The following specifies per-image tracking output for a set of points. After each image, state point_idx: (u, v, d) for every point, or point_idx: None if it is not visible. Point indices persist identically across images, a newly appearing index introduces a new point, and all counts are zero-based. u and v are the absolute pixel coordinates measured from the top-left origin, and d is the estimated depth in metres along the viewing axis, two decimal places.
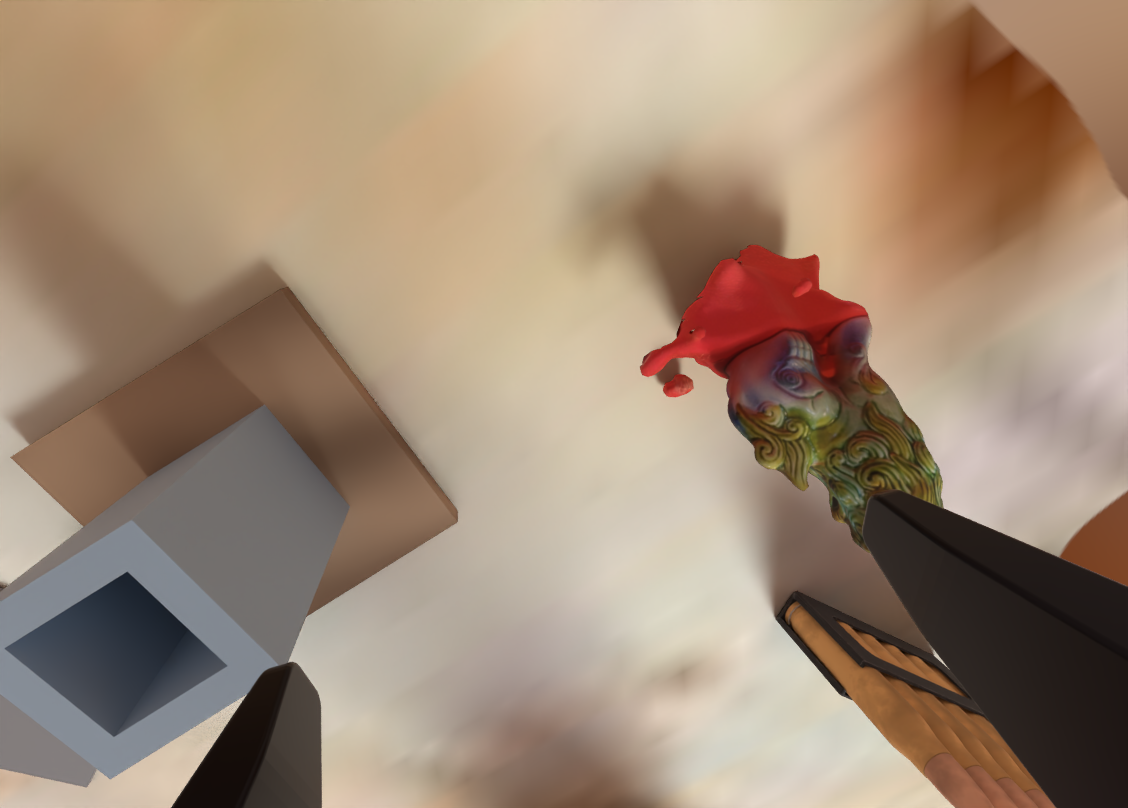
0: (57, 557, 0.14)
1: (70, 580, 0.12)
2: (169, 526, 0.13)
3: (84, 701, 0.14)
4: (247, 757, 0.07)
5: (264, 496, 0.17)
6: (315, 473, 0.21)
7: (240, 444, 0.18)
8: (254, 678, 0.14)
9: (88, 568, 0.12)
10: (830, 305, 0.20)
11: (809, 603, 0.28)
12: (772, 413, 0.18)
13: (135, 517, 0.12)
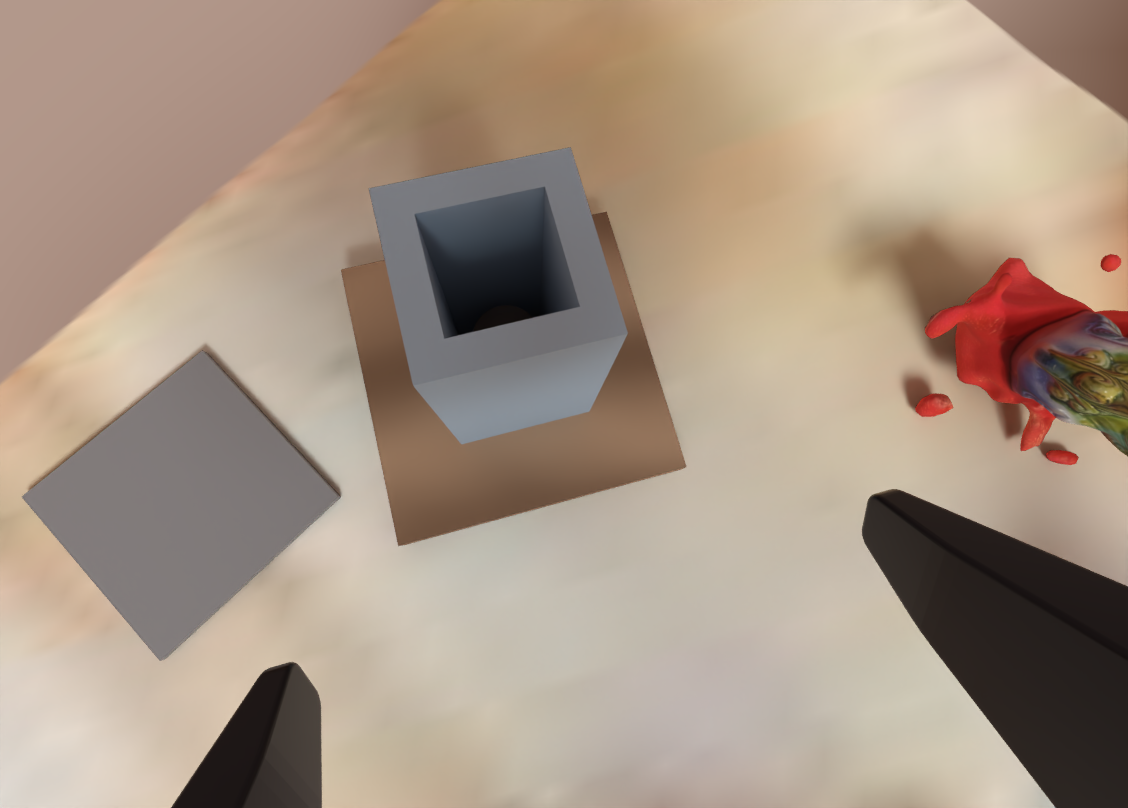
0: None
1: (498, 177, 0.14)
2: None
3: (435, 298, 0.13)
4: (247, 757, 0.07)
5: None
6: None
7: None
8: (597, 330, 0.13)
9: (517, 173, 0.14)
10: (1127, 312, 0.20)
11: None
12: (1095, 356, 0.18)
13: (569, 151, 0.14)
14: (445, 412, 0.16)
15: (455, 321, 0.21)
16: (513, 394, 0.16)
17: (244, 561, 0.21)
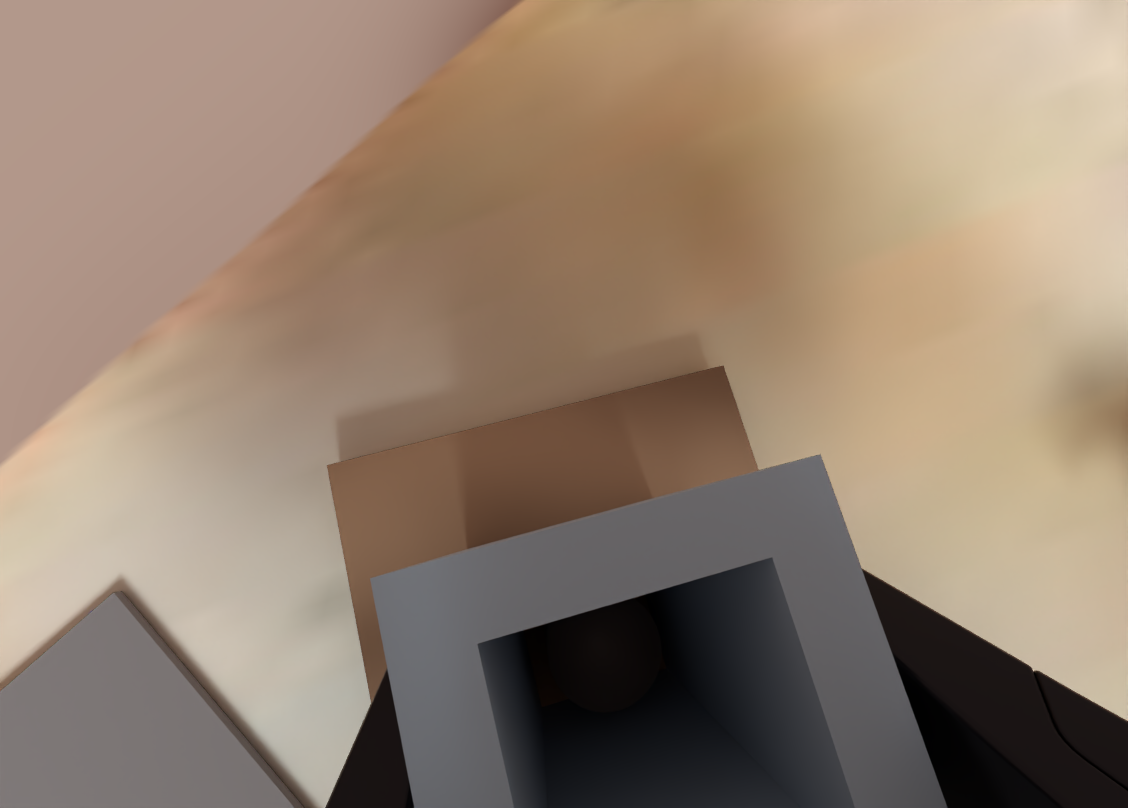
0: (548, 528, 0.08)
1: (666, 537, 0.06)
2: None
3: None
4: None
5: None
6: None
7: None
8: None
9: (708, 524, 0.06)
10: None
11: None
12: None
13: (813, 457, 0.07)
14: None
15: None
16: None
17: None
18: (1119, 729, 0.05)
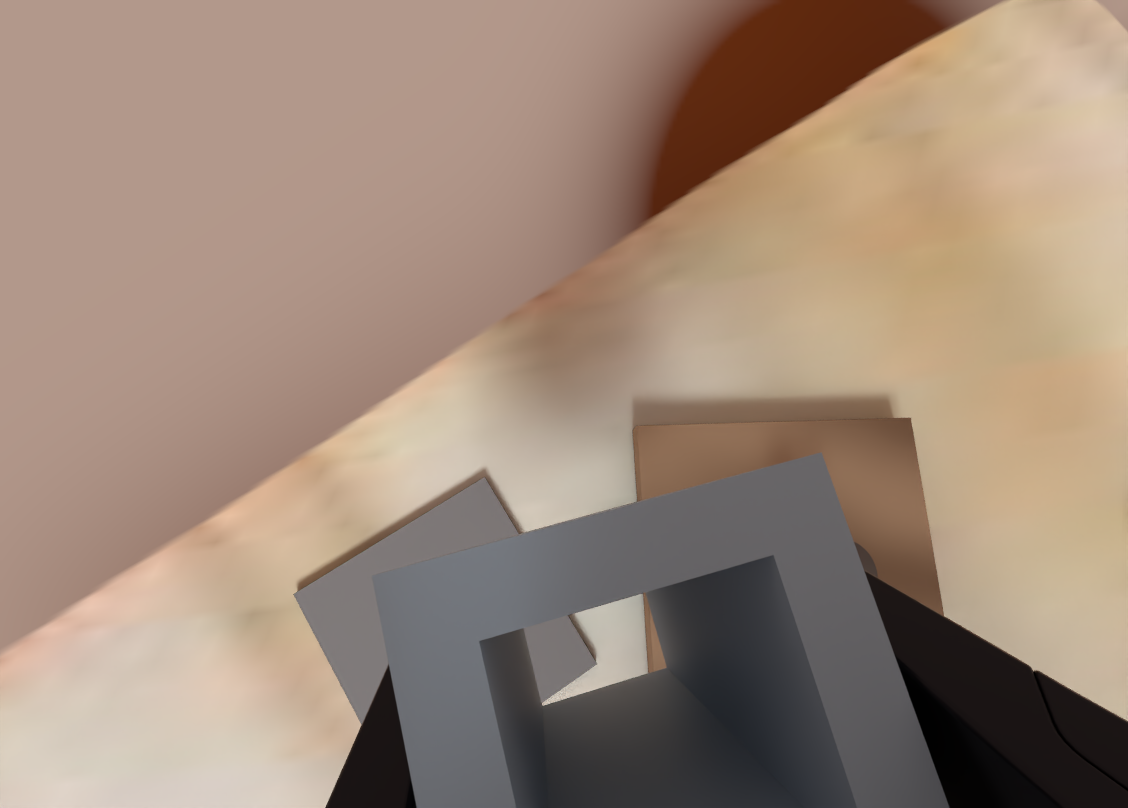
0: None
1: (668, 535, 0.06)
2: None
3: None
4: None
5: None
6: None
7: None
8: None
9: (709, 522, 0.06)
10: None
11: None
12: None
13: (814, 456, 0.07)
14: None
15: None
16: None
17: None
18: (1119, 729, 0.05)
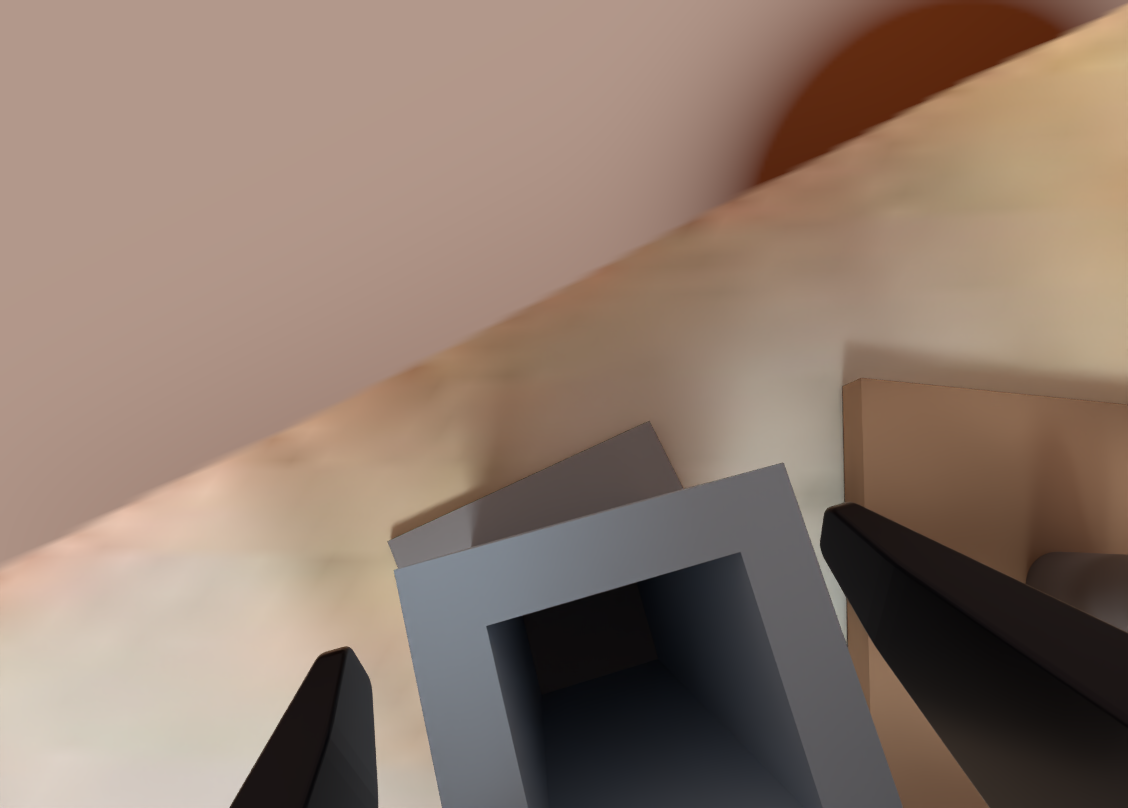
0: (547, 527, 0.08)
1: (649, 534, 0.07)
2: None
3: None
4: (313, 737, 0.07)
5: None
6: None
7: None
8: None
9: (685, 523, 0.07)
10: None
11: None
12: None
13: None
14: None
15: None
16: None
17: None
18: None
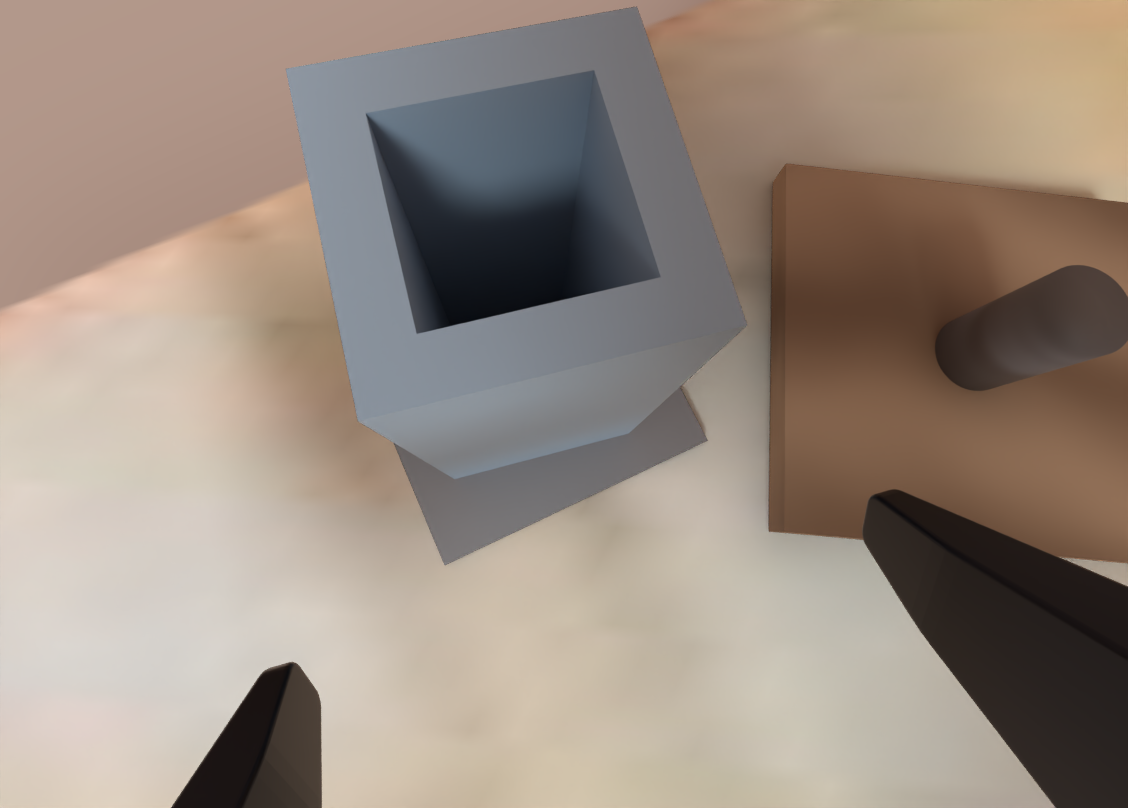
0: None
1: (513, 54, 0.08)
2: None
3: (402, 263, 0.07)
4: (247, 757, 0.07)
5: None
6: None
7: None
8: (692, 319, 0.07)
9: (546, 47, 0.08)
10: None
11: None
12: None
13: (634, 16, 0.08)
14: (426, 450, 0.10)
15: (445, 309, 0.15)
16: (533, 422, 0.10)
17: (575, 479, 0.16)
18: None
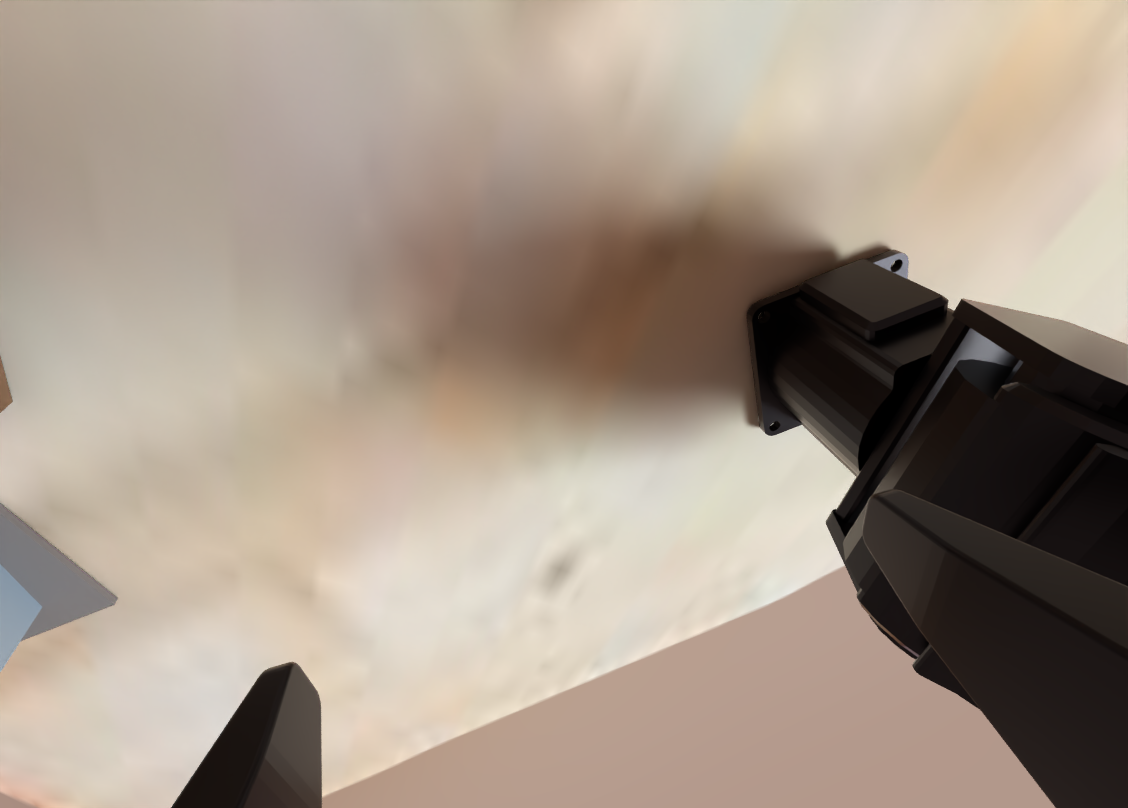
0: None
1: None
2: None
3: None
4: (247, 757, 0.07)
5: None
6: None
7: None
8: None
9: None
10: None
11: None
12: None
13: None
14: None
15: None
16: None
17: (12, 542, 0.20)
18: None
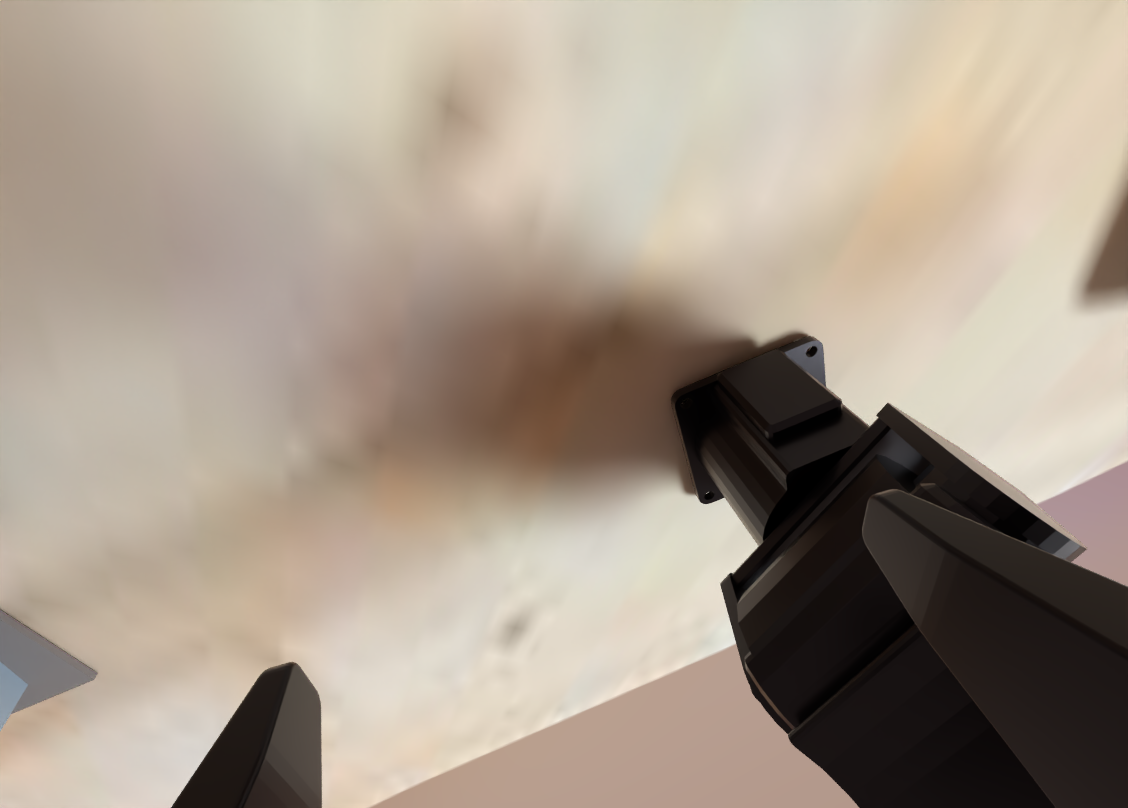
0: None
1: None
2: None
3: None
4: (247, 757, 0.07)
5: None
6: None
7: None
8: None
9: None
10: None
11: None
12: None
13: None
14: None
15: None
16: None
17: None
18: None
